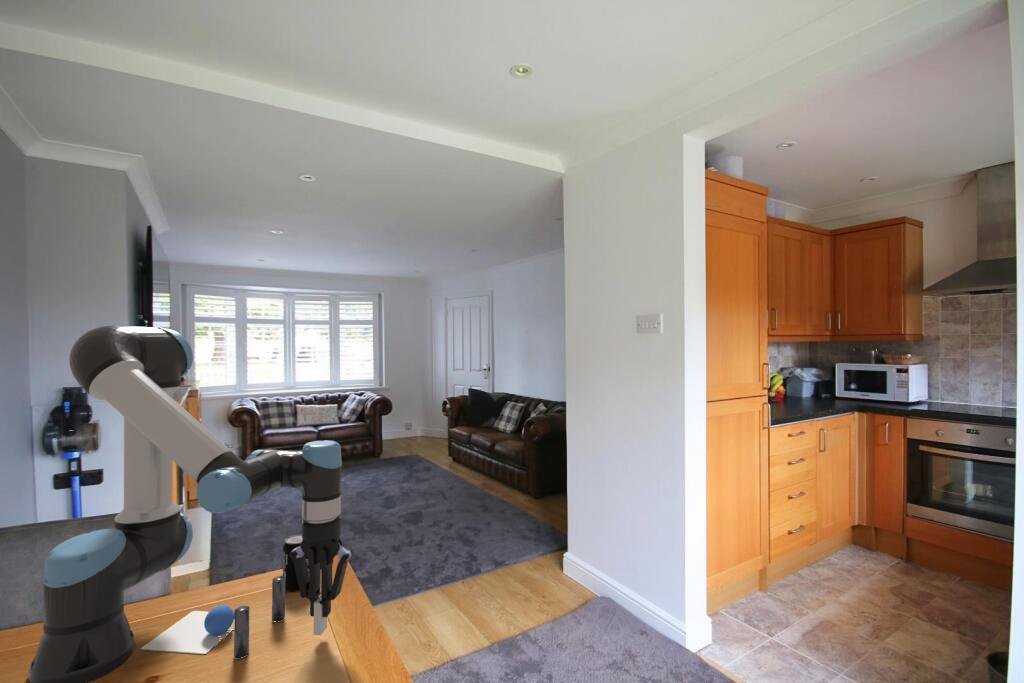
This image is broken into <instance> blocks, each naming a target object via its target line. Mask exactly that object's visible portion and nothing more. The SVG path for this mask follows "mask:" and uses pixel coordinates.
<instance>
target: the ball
mask: <svg viewBox="0 0 1024 683" xmlns="http://www.w3.org/2000/svg"><path fill="white" fill-rule="evenodd" d="M208 612H209V613H208V614H207V616H206V618H205V621H204V627H205V629H206V631H207V632H208V633H209V634H212V635H219V634H222V633H224V632H226V631H227V630H228V629H229V628H230V627H231V626H232V624H233V622H234V610H233V608H232V607H231V606H229V605H227V604H226V605H225V604H222V605H217V606H215V607H213V608H212V609H210V611H208Z"/></svg>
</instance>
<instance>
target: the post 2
mask: <svg viewBox="0 0 1024 683" xmlns="http://www.w3.org/2000/svg"><path fill="white" fill-rule="evenodd" d="M271 581H272V583H271V584H272V585H271V622H272V621H276V622H277V623H279V622H278V621H281V620H283V619H284V618H285V617H286V589H285V577H284V576H283V575H279V576H276V577H273V578H272V580H271ZM284 620H285V619H284ZM284 620H283V621H284ZM281 622H282V621H281Z"/></svg>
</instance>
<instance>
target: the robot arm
mask: <svg viewBox="0 0 1024 683" xmlns="http://www.w3.org/2000/svg"><path fill="white" fill-rule="evenodd" d="M68 360H69V361H68V362H69V369H70V371H71V373H72V375H73V376H72V377H73V378H74V379H75V380H76V382H77V383H78V385H79V386H80V387H81V388H82V389H83V390H84V391H85V392H86V393H87V394H89V396H91V397H92V398H93V399H95V400H98V401H102V400H103V401H104V400H105V401H106V402H107V403H108V404H109V405H110V406H112V408H113V409H114V410H116V411H117V412H118V413H119V414H121V415H122V417H123V508H122V510H121V511H120V512H119V513H118V514H116V516H115V517H114V528H103V529H96V530H92V531H91V532H89V533H88V532H87V533H85V532H84V533H81V534H78V535H76V536H73V537H71V538H69V539H66V540H65V541H63V542H61V543H59V544H58V545H56V546H55V547H54V548H53V549H52V550H51V551H50V552H49V553H48V554H47V556H46V557H45V558H46V559H45V561H44V570H43V571H44V572H43V573H42V583H43V613H42V614H43V623H42V624H43V625H42V627H43V628H42V635H41V638H40V641H39V643H38V646H37V650H36V652H35V653H36V654H35V657H34V658H33V659H32V661H31V662H30V664H29V665H30V666H29V669H28V670H29V671H28V682H30V683H88V682H91V681H94V680H96V679H98V678H100V677H103V676H105V675H107V674H109V673H110V672H112V671H114V670H115V669H117V668H119V667H120V666H121V665H123V664H124V663H125V662H126V661H127V660H129V658H130V657H131V656H132V655H133V653H134V651H135V643H136V642H135V641H136V640H135V634H134V632H133V630H132V629H131V625H130V623H129V620H128V618H127V616H126V613H125V591H127V590H128V589H130V588H132V587H134V586H136V585H138V584H139V583H141V582H143V581H145V580H147V579H149V578H151V577H153V576H154V575H156V574H159V573H160V572H164V571H165V570H167V569H169V568H170V567H172V566H173V565H174V564H175V563H177V562H179V561H180V560H181V559H182V558H183V557H184V556H185V555H186V554H187V553H188V551H189V549H190V548H191V545H192V541H193V535H194V531H193V526H192V522H191V521H188V519H189V518H188V517H187V515H186V514H185V513H183V512H182V511H181V506H180V505H178V504H177V503H176V502H174V501H173V462H174V463H175V464H176V465H177V466H178V467H179V468H180V469H181V470H182V471H184V472H185V474H187V475H188V476H189V477H190V478H191V479H192V480H194V481H195V482H196V483H197V486H196V493H195V494H196V498H197V499H198V501H199V506H201V507H202V508H203V509H204V510H205V511H206V512H209V513H211V514H222V513H225V512H229V511H231V510H235V509H238V508H241V507H242V506H244V505H245V504H246V503H249V502H250V501H252V500H254V499H257V498H259V497H262V496H264V495H266V494H268V493H270V492H273V491H275V490H276V489H279V488H280V489H281V488H285V489H286V488H287V489H301V491H302V492H301V494H302V496H301V497H302V500H301V501H302V502H301V505H302V507H301V518H302V521H301V534H302V538H303V539H302V542H301V544H300V547H296V548H295V549H294V550H292V551H291V552H290V553H289V556H290V558H291V559H292V561H293V563H294V567H295V571H296V576H297V581H298V585H299V590H298V591H299V594H300V597H301V598H302V599H307V600H309V609H310V610H309V615H310V617H313V636H321V635H323V633H324V632H325V631H326V629H327V628H328V616H330V614H331V612H332V609H331V608H332V601H334V600H335V599H336V598H337V597H338V596H339V595H340V593H341V591H342V586H343V583H344V579H345V574H346V571H347V567H348V563H349V560H350V558H351V557H352V556H353V553H354V551H353V550H352V549H347V548H345V547H344V546H343V542H342V539H341V533H342V532H341V531H342V530H341V529H342V528H341V527H342V526H341V525H342V523H341V522H342V519H341V518H342V517H341V516H340V515H341V513H342V511H341V510H342V490H341V485H342V484H341V483H342V466H343V461H342V447H341V445H340V443H339V442H337V441H335V440H314V441H310V442H306V443H305V444H304V445H303V447H302V450H300V451H299V450H286V449H285V450H284V449H283V450H282V449H273V448H268V449H257V450H253V451H252V452H251V453H250V454H249V456H247V457H246V459H245V460H243V459H242V458H240V456H238V455H237V454H235V452H233V450H231V449H230V448H229V447H228V446H227V445H226V444H224V443H223V442H222V441H221V440H220V439H218V437H216V436H215V435H214V434H213V433H212V432H211V431H210V430H209V429H208V428H207V427H205V426H204V425H203V424H202V423H201V422H200V421H198V420H197V419H196V418H195V417H194V416H193V415H192V414H191V413H190V412H188V410H186V409H185V408H184V407H183V406H182V405H181V404H179V403H178V402H177V401H176V400H175V399H174V397H173V395H174V394H175V393H176V392H177V391H178V390H180V388H181V387H182V386H181V378H182V377H183V376H185V375H186V374H187V373H188V372H189V370H191V367H192V366H193V362H194V353H193V349H192V347H191V343H190V342H189V341H188V339H187V338H186V337H184V336H183V335H182V334H181V333H180V332H178V331H176V330H173V329H170V328H163V327H156V326H149V327H148V326H123V325H122V326H121V325H105V326H104V325H102V326H99V327H96V328H93V329H91V330H87V331H86V332H85V333H83V334H82V335H81V336H80V337H79V338H77V340H76V341H74V344H73V345H72V347H71V350H70V353H69V358H68ZM304 554H305V555H306V557H307V559H308V568H309V572H308V568H307V563H306V558H305V556H304ZM337 555H338V557H337V559H338V562H337V565H336V569H335V573H334V578H333V564H334V560H335V557H336V556H337Z"/></svg>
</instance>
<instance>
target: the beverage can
mask: <svg viewBox="0 0 1024 683" xmlns="http://www.w3.org/2000/svg"><path fill="white" fill-rule="evenodd" d="M302 539H303V538H302V533H301V534H293V535H290V536H288V537H287V538H285V539H284V544H282V576H284V577H285V591H287V590H288V592H297V590H298V591H300V590H299V585H298V581H297V576H296V571H295V567H294V563H293V561H292V559H291V558H290V556H289V553H290V552H291V551H292V550H294V549H295V548H296V547H300V544H301V542H302ZM304 556H305V558H306V563H307V568H308V559H307V557H306V555H305V554H304ZM308 572H309V568H308Z"/></svg>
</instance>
